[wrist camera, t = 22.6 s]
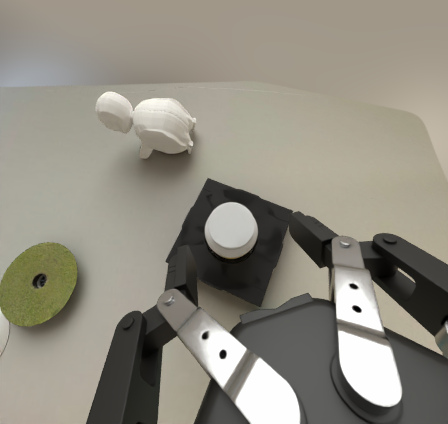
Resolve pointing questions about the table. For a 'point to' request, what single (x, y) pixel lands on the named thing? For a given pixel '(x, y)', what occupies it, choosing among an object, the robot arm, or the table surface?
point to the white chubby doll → (149, 122)
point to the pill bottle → (231, 230)
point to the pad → (262, 251)
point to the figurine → (3, 331)
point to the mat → (38, 284)
